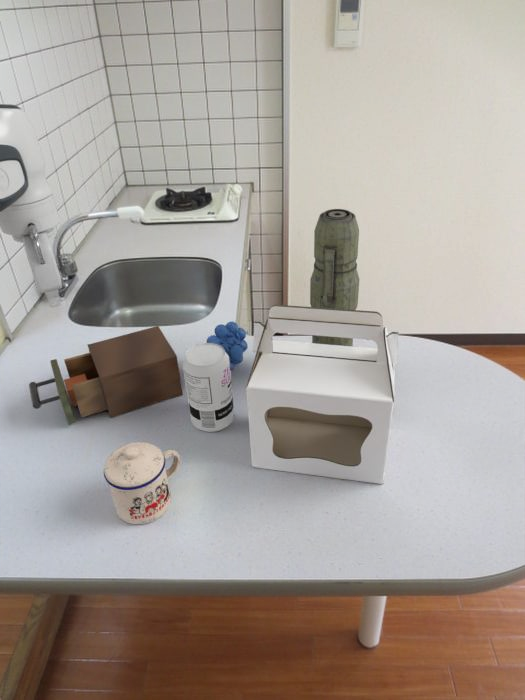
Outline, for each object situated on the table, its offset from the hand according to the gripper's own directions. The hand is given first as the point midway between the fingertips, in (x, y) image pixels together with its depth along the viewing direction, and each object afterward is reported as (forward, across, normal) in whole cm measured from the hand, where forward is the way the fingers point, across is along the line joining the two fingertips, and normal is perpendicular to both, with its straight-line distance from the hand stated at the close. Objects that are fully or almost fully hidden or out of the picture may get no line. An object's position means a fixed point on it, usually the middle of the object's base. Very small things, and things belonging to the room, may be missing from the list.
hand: (51, 293), depth 90 cm
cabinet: (+25, 0, -11) cm, 27 cm away
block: (+23, 0, 0) cm, 23 cm away
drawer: (+24, 0, 0) cm, 24 cm away
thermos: (+25, -16, -47) cm, 56 cm away
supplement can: (+25, -16, -21) cm, 37 cm away
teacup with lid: (+25, -29, -5) cm, 39 cm away
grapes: (+25, -4, -30) cm, 39 cm away
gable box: (+25, -32, -35) cm, 54 cm away
